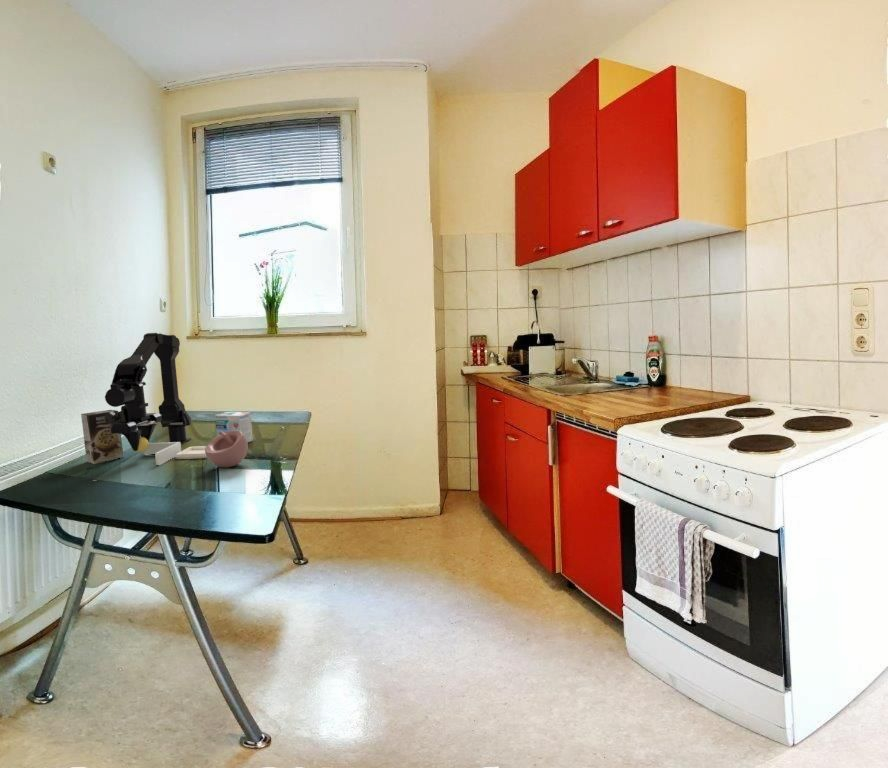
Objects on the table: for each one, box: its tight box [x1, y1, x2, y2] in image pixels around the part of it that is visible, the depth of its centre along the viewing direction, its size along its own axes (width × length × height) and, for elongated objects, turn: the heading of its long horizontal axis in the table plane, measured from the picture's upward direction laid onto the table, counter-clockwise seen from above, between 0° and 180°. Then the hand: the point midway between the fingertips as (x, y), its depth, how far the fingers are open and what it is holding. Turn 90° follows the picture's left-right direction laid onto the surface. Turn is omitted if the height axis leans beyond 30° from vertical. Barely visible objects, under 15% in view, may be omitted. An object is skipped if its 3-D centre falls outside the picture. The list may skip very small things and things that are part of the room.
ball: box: [135, 436, 150, 453], centre depth 169 cm, size 5×5×5 cm
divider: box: [143, 441, 182, 466], centre depth 169 cm, size 14×12×4 cm
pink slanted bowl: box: [205, 430, 249, 468], centre depth 157 cm, size 12×12×12 cm
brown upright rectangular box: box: [80, 409, 124, 465], centre depth 172 cm, size 9×6×16 cm
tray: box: [174, 445, 208, 460], centre depth 174 cm, size 10×10×2 cm
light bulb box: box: [214, 411, 254, 444], centre depth 189 cm, size 11×7×11 cm, turn 73°
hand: (140, 448), depth 169 cm, fingers closed on ball, 5 cm apart
